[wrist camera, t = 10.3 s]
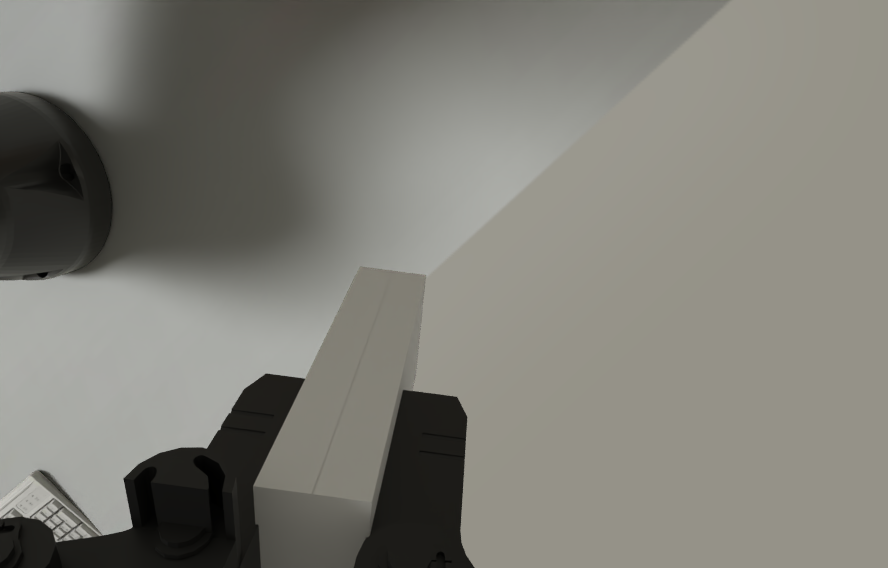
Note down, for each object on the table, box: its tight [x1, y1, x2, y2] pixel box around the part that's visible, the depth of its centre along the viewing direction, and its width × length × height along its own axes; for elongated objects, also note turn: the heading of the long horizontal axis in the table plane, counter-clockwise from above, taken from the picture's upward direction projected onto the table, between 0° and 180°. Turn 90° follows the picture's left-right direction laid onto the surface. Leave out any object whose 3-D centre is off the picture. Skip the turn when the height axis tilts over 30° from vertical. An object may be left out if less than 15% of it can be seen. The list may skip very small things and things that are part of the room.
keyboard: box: [0, 470, 103, 542], centre depth 65 cm, size 29×10×2 cm, turn 129°
